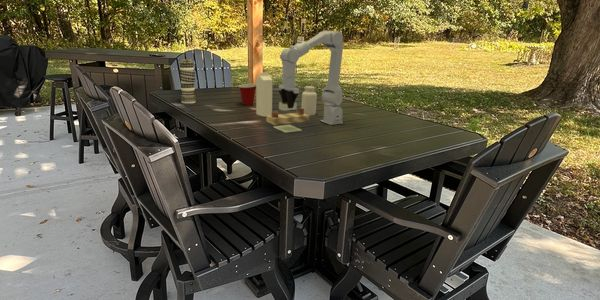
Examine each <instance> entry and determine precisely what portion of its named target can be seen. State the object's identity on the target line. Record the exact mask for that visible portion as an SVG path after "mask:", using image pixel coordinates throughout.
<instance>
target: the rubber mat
mask: <svg viewBox="0 0 600 300" xmlns="http://www.w3.org/2000/svg"><path fill="white" fill-rule="evenodd" d="M273 128H274V129H276V130H278V131H280V132H283V133H285V134H287V133H294V132H303V129H301V128H298V127H296V126H294V125H291V124H281V125H273Z"/></svg>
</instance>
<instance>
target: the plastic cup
mask: <svg viewBox="0 0 600 300" xmlns="http://www.w3.org/2000/svg"><path fill="white" fill-rule="evenodd" d="M238 88H239V91H240V95H241V96H240V97H241V100H242V105H243V106H246V105H247V106H248V105H251V106H253V105H254V100H255V97H256V95H255V93H256V83H244V84H243V83H241V84H239V85H238ZM247 106H246V107H247ZM248 107H249V106H248Z"/></svg>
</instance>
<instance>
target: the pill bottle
mask: <svg viewBox="0 0 600 300" xmlns="http://www.w3.org/2000/svg"><path fill="white" fill-rule="evenodd" d="M315 91H316V87H315V86H313V85H312V86H311V85H307V86H304V91H303V92H302V94H301V107H300V108H303V109H304V114H307V115H309V117H310V116H315V115H316V113H317V99H318V98H317V97H318V94H317V92H315Z"/></svg>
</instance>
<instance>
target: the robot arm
mask: <svg viewBox="0 0 600 300" xmlns="http://www.w3.org/2000/svg"><path fill="white" fill-rule="evenodd" d="M343 42H344V35H343V34H342V33H341V32H340V31H339V30H335V31H334V30H322V31H320V32H318V34H316V35H314V36H313V37H311V38H310V39H308V40H307V41H305V40H298V41H297V43H295V44H294V45H290V46H289V48H284V49H283V50H281V53H280V54H279V57H280V60H281V64H282V81H281V82H282V83H281V84H278V89H279V90H278V93H279V95H280V99H281V102H288V108H293V106H294V103H295V102H296V100H297V98H298V95H299V94H300V88H298V87H296V71H297V70H296V67H297V65H296V63H297V62H298V61H299V59H300V58H301V57H303V56H305V55H307V54H308V53H309V52H310V49H312V48H315V47H316V46H318V45H320V44H321V45H323V46H325V47H326V48H328V50H329V51H330V58H329V59H330V61H329V67H328V76H327V77H328V78H327V84H326V85H325V86H324V87H323V91H322V93H321V101H322V102H323V103H322V104H323V119H319V121H320V122H322V123H325V124H328V125H330V126H332V125H341V124H344V122H343V108H342V107H340V105H341V104H342V102H343V99H344V97H343V89H342V88H341V87H340V85H339V83H340V77H341V70H342V69H341V67H342V58H343V53H344V52H343V50H344V46H343Z"/></svg>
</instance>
